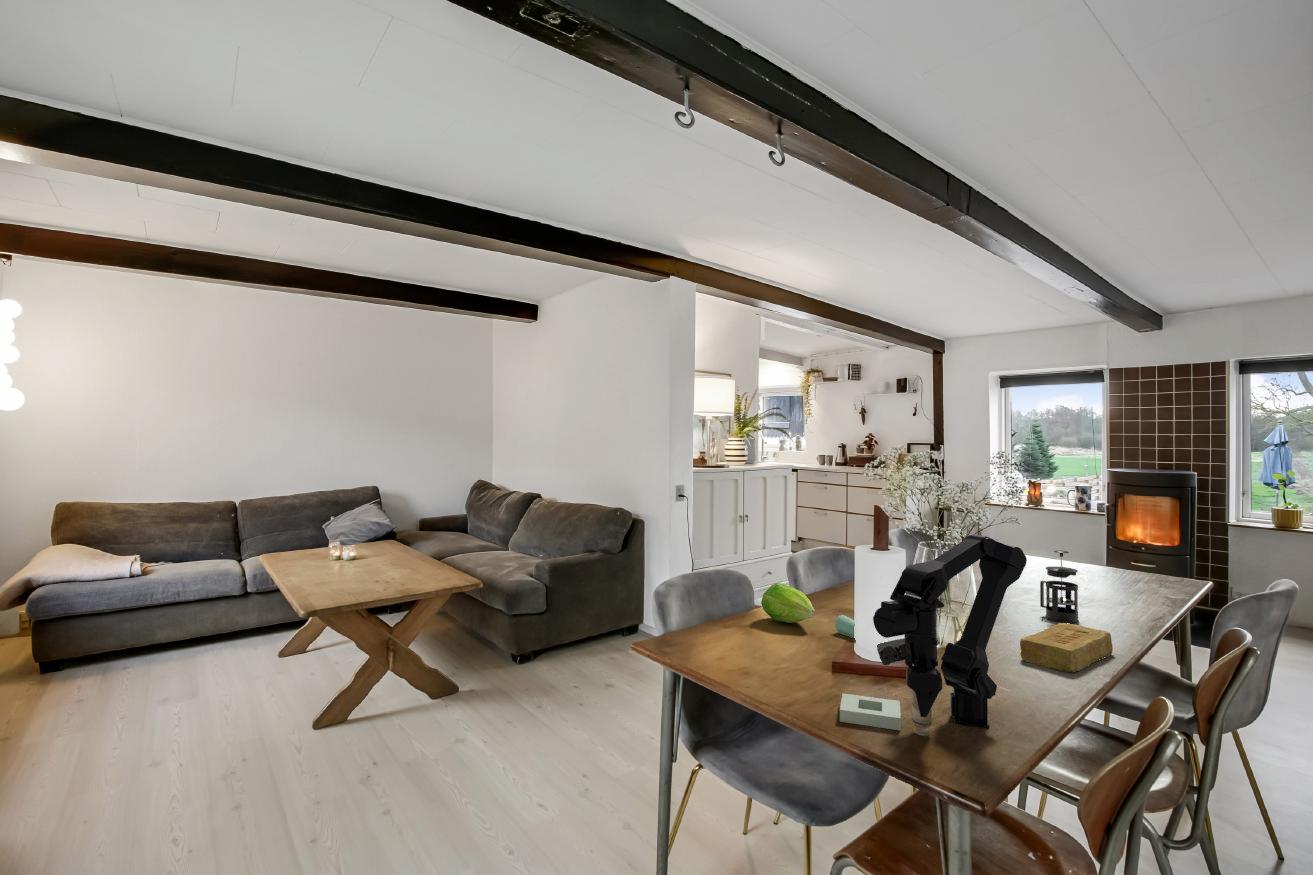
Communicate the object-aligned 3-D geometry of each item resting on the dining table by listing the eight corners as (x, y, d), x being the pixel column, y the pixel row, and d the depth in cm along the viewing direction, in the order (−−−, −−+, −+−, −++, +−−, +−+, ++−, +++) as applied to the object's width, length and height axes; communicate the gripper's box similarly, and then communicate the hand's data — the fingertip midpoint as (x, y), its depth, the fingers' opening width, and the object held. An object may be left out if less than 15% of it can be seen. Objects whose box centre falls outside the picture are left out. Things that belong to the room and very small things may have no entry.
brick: (1019, 665, 166) (1016, 638, 166) (1061, 645, 181) (1059, 621, 182) (1075, 676, 155) (1072, 648, 156) (1114, 654, 171) (1112, 629, 171)
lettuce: (795, 635, 188) (795, 596, 188) (753, 619, 205) (753, 583, 205) (828, 628, 195) (828, 590, 195) (785, 613, 212) (785, 578, 212)
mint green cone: (905, 641, 166) (834, 616, 190) (905, 661, 166) (834, 633, 190) (919, 638, 169) (847, 613, 193) (919, 658, 169) (847, 631, 193)
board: (899, 712, 134) (899, 700, 134) (900, 730, 125) (900, 718, 125) (842, 704, 138) (842, 693, 138) (839, 721, 130) (839, 709, 130)
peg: (931, 730, 126) (930, 686, 126) (932, 738, 122) (932, 693, 122) (911, 727, 127) (911, 683, 127) (912, 735, 123) (912, 690, 124)
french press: (1086, 621, 202) (1086, 551, 202) (1072, 625, 197) (1071, 554, 197) (1048, 613, 212) (1048, 546, 212) (1034, 617, 207) (1033, 549, 207)
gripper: (879, 614, 136) (880, 684, 136) (879, 640, 119) (879, 720, 119) (934, 619, 132) (935, 691, 132) (942, 646, 115) (942, 729, 115)
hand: (922, 707), depth 125 cm, fingers open, 9 cm apart
